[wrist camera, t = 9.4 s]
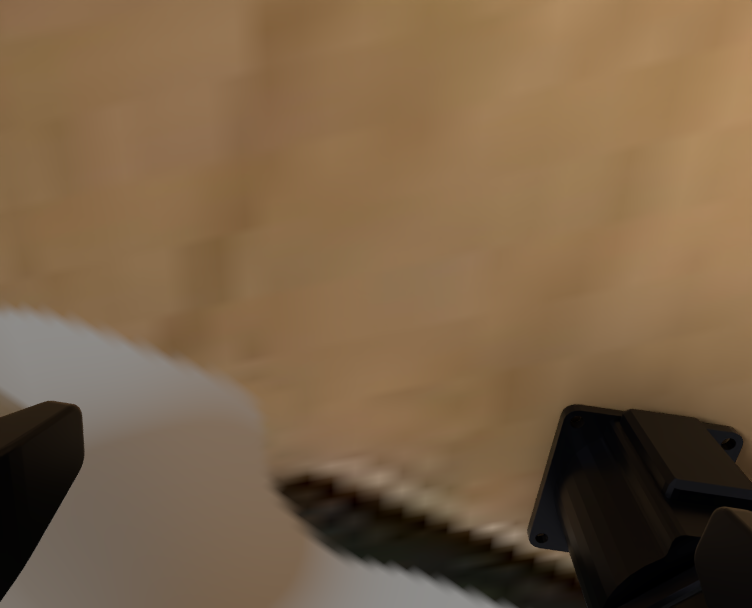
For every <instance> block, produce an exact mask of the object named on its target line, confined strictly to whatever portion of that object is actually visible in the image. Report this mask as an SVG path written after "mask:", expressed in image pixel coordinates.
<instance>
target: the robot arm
mask: <svg viewBox="0 0 752 608" xmlns="http://www.w3.org/2000/svg"><path fill="white" fill-rule="evenodd" d="M575 416H580V417H581V419H580V420H579V421H577V422H571V419H572V418H573V417H575ZM727 438H730V439H729V441H728V442H726V443H722V442H723V440H725V439H727ZM721 443H722V444H721ZM742 446H743V439H742V437H741V436H740V435H739V434H738V433H737V432H736V431H735V430H734V429H733V428H731V427H728V426H722V425H715V424H708V423H701V422H700V421H699V420H698V419H696V418H692V417H685V416H678V415H671V414H664V413H657V412H650V411H643V410H636V409H629V410H626V411H619V410H612V409H605V408H598V407H591V406H584V405H570V406H568V407H566V408H565V409H564V410H563V411H562V413H561V416H560V419H559V423H558V426H557V430H556V433H555V436H554V440H553V443H552V447H551V450H550V454H549V457H548V460H547V464H546V467H545V471H544V474H543V478H542V481H541V484H540V488H539V491H538V495H537V498H536V502H535V505H534V509H533V512H532V515H531V519H530V522H529V526H528V529H527V533H528V537H529V541H530V543H531V544H532V545H533V546H535V547H538V548H543V549H550V550H557V551H563V552H569V553H570V556H571V559H572V562H573V565H574V568H575V571H576V574H577V577H578V580H579V583H580V586H581V589H582V592H583V595H584V598H585V601H586V605H587V608H752V483H751V481H750V480H749V479H748V478H747V477H746V475H745V474H744V473H743V472H742V471H741V470H740V468H739V467H738V466H737V465H736V464H735V462H736V460H737V457H738V455H739V453H740V450H741V448H742ZM83 460H84V437H83V422H82V412H81V410H80V408H79V407H78V406H77V405H75V404H69V403H63V402H56V401H46V402H43V403H40V404H37V405H34V406H31V407H28V408H25V409H23V410H20V411H17V412H14V413H11V414H8V415H6V416H3V417H0V601H1V600H2V599H3V597H4V596H5V594H6V593H7V591H8V590H9V589H10V587H11V586H12V584H13V583H14V582H15V580H16V579H17V577H18V576H19V574H20V573H21V571H22V570H23V568H24V566H25V565H26V563H27V561H28V560H29V558H30V557H31V555H32V553H33V551H34V550H35V548H36V547H37V545H38V543H39V541H40V540H41V538H42V536H43V534H44V532H45V531H46V529H47V527H48V526H49V524H50V522H51V520H52V519H53V517H54V515H55V513H56V511H57V510H58V508H59V506H60V505H61V503H62V501H63V499H64V498H65V496H66V494H67V492H68V491H69V488H70V487H71V485H72V483H73V482H74V480H75V478H76V477H77V475H78V473H79V471H80V469H81V467H82V464H83ZM540 533H544V535H542V536H537V535H538V534H540Z"/></svg>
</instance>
